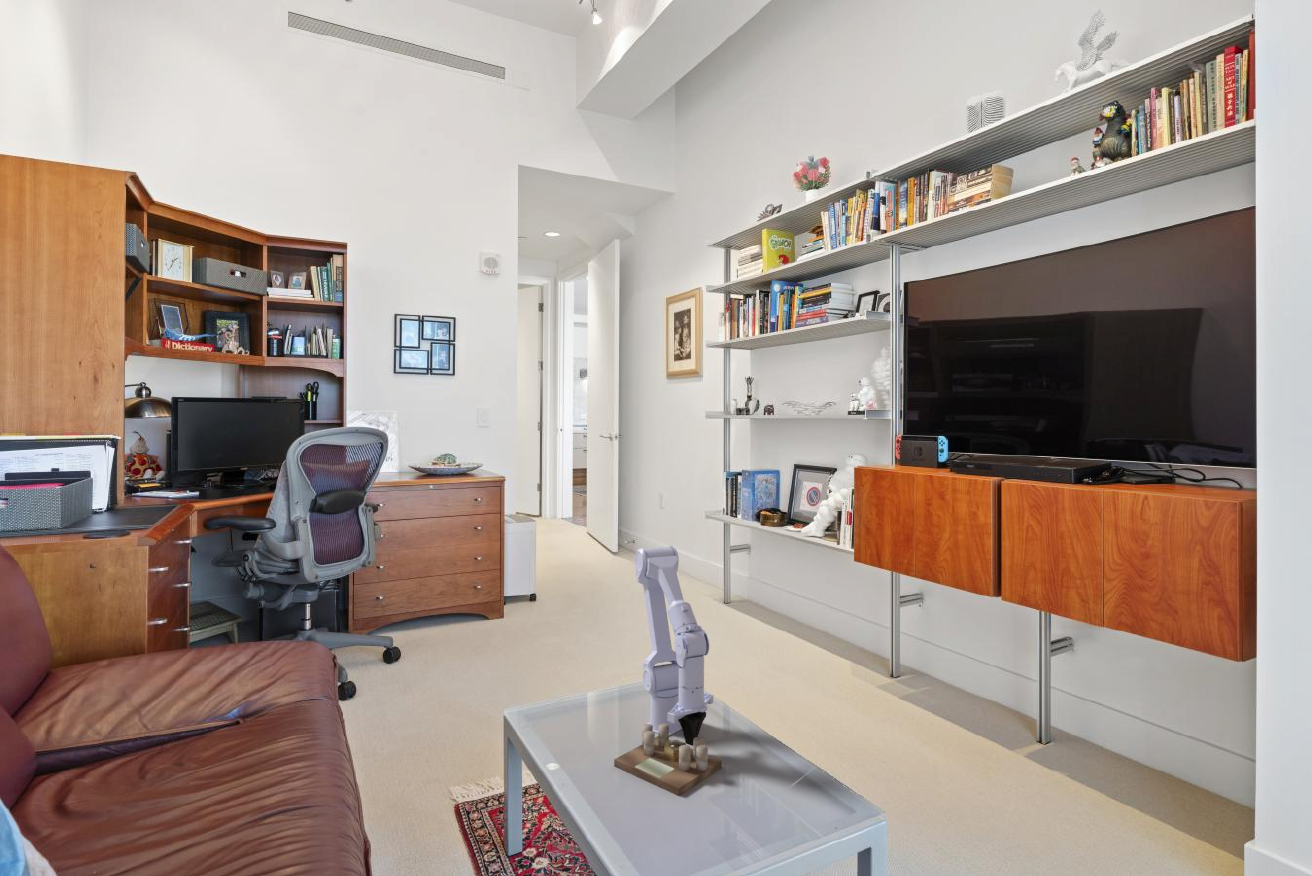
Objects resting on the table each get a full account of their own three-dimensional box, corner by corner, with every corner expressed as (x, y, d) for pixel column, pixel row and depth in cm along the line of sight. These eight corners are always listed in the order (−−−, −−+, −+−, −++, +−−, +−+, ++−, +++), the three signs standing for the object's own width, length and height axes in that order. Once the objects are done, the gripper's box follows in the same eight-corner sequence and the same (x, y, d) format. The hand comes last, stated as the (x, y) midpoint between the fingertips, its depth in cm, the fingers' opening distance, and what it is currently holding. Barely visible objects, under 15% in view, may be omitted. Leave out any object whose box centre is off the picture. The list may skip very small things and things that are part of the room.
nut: (672, 748, 157) (672, 737, 157) (690, 755, 154) (690, 744, 154) (659, 755, 154) (660, 744, 154) (677, 763, 151) (678, 752, 151)
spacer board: (658, 741, 164) (658, 716, 163) (721, 767, 152) (721, 740, 152) (614, 766, 152) (614, 739, 152) (678, 795, 141) (678, 766, 140)
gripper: (685, 699, 150) (685, 761, 150) (724, 679, 161) (723, 737, 161) (660, 690, 154) (659, 751, 155) (699, 672, 165) (699, 728, 166)
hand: (690, 743), depth 158 cm, fingers closed
